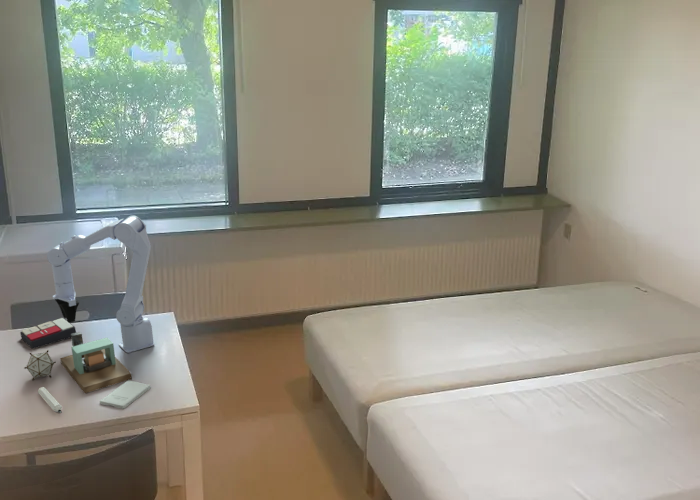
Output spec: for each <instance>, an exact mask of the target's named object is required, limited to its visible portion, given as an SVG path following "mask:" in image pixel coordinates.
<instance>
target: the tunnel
mask: <svg viewBox="0 0 700 500" xmlns="http://www.w3.org/2000/svg"><path fill="white" fill-rule="evenodd" d="M103 349H105V355H106V357H107V358H108V359H109V360H110V362H111V365H114V364H116V361H115V357H116V354H115V347H114V342H113V341H112V340H111V339H110V338H109V337H103V338H100V339H96V340H93V341H88V342H85V343H83V344H81V345H77V346H71V355H73V361H74V368H75V369H76V370H77V371H78V373H79V374H83V373H84V370H83V363H82V356H81V355H85V354H88V353H92V352H95V351H99V350H103Z"/></svg>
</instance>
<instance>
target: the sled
mask: <svg viewBox="0 0 700 500" xmlns="http://www.w3.org/2000/svg"><path fill="white" fill-rule="evenodd" d="M70 339H71V340H70V341H71V345H72V346H71V347H73V346H77V345H81V344H84V341H83V339H84V338H83V334H82V332H81V331H78V332H77V331H76V333H73V334H71V338H70ZM103 355H104V354H103ZM82 363H83V369H84V370H85V371H86V372H91V371H94V370H97V369H101V368H104V367H108V366H111V362H110V360H109V359H108V358H107V357H106V356H105V355H104V362H102V363H98V364H95V365H91V366H87V365H86V363H85V358H82Z"/></svg>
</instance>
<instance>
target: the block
mask: <svg viewBox="0 0 700 500" xmlns="http://www.w3.org/2000/svg"><path fill="white" fill-rule="evenodd" d="M84 358H85V363H86V365H87V366H91V365H95V364H98V363H102V362H104V355H103V352H102V351H101V350H99V351H95V352H92V353H88V354H85V355H84Z"/></svg>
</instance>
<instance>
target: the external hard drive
mask: <svg viewBox="0 0 700 500" xmlns="http://www.w3.org/2000/svg"><path fill="white" fill-rule="evenodd" d="M150 389H151V385H150V384H148V383H143V382H138V381H132V380H127V381H124V382H123V383H122V384H121V385H119V386H118V387H117V388H116V389H114V390H113V391H112V392H110V393H109V394H107V395H106V396H105V397H104V398H101V400H100V401H99V404H100V405H105V406H109V407H113V408H118V409H125V408H127V407H128V406H130V405H131V404H132V403H134V401H136V400H137V399H138V398H139V397H141V396H142V395H143V394H144V393H146V392H148V391H149V390H150Z"/></svg>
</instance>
